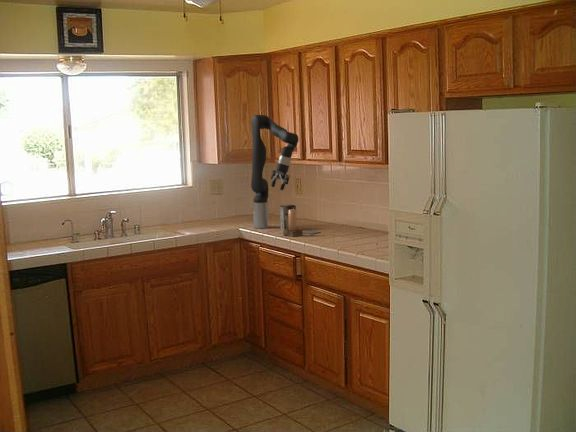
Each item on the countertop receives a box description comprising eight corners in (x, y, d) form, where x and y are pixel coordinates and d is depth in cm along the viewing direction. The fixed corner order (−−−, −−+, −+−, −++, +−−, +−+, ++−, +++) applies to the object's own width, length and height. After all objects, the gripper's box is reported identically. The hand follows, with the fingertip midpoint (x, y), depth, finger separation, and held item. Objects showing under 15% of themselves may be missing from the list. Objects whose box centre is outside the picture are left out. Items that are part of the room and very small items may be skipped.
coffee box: (293, 228, 450) (292, 204, 447) (296, 229, 444) (296, 205, 442) (280, 229, 446) (279, 205, 444) (283, 231, 440) (283, 206, 438)
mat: (300, 233, 430) (300, 232, 429) (310, 231, 436) (310, 230, 436) (311, 234, 423) (311, 233, 423) (320, 232, 429) (320, 231, 429)
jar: (287, 235, 423) (286, 210, 420) (293, 234, 426) (292, 209, 424) (293, 236, 419) (292, 210, 417) (298, 235, 423) (297, 209, 420)
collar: (283, 235, 423) (283, 230, 422) (293, 233, 428) (292, 229, 428) (293, 236, 417) (292, 232, 416) (302, 235, 423) (302, 230, 422)
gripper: (272, 160, 430) (265, 185, 432) (287, 165, 420) (280, 190, 422) (280, 162, 435) (274, 186, 437) (295, 166, 425) (288, 191, 427)
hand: (277, 188), depth 430 cm, fingers open, 8 cm apart
